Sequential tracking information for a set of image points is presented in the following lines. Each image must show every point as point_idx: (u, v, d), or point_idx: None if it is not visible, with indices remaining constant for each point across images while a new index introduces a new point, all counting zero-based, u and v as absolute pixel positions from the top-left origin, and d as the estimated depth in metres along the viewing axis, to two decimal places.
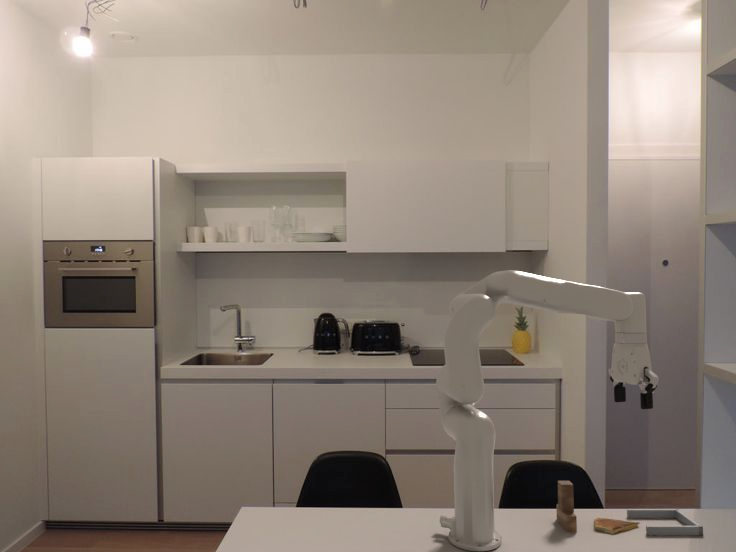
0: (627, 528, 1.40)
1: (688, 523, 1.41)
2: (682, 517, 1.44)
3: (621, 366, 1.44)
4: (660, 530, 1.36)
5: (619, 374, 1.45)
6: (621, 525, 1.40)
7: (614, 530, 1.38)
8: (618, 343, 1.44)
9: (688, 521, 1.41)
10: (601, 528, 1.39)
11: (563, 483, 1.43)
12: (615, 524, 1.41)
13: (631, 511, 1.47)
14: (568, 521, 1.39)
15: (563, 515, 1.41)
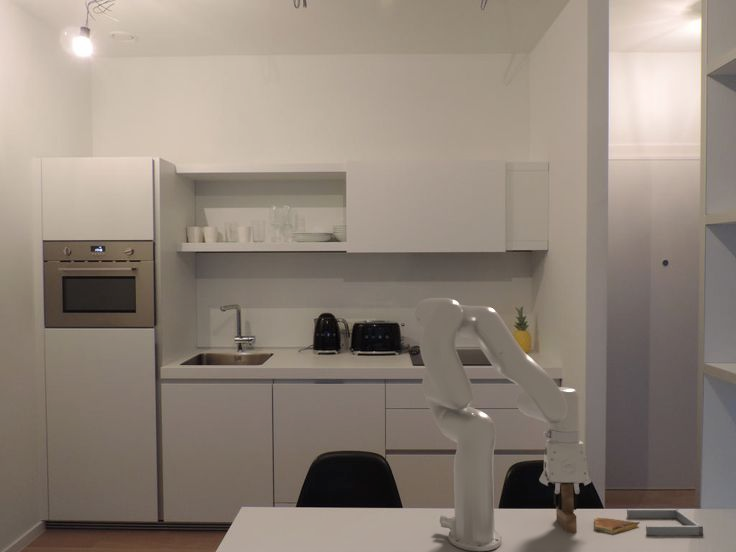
0: (627, 528, 1.40)
1: (688, 523, 1.41)
2: (682, 517, 1.44)
3: (566, 466, 1.41)
4: (660, 530, 1.36)
5: (563, 475, 1.41)
6: (621, 525, 1.40)
7: (614, 530, 1.38)
8: (568, 443, 1.40)
9: (688, 521, 1.41)
10: (601, 528, 1.39)
11: (563, 483, 1.43)
12: (614, 524, 1.41)
13: (631, 511, 1.47)
14: (568, 520, 1.39)
15: (563, 515, 1.41)
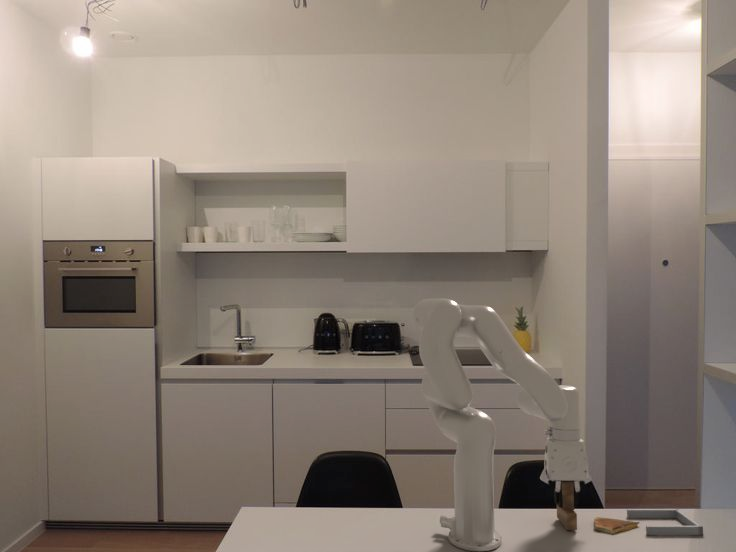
0: (627, 528, 1.40)
1: (688, 523, 1.41)
2: (682, 517, 1.44)
3: (567, 464, 1.41)
4: (660, 530, 1.36)
5: (564, 473, 1.41)
6: (621, 525, 1.40)
7: (614, 530, 1.38)
8: (568, 441, 1.40)
9: (688, 521, 1.41)
10: (601, 528, 1.39)
11: (563, 481, 1.43)
12: (614, 523, 1.41)
13: (631, 511, 1.47)
14: (569, 518, 1.39)
15: (563, 513, 1.41)
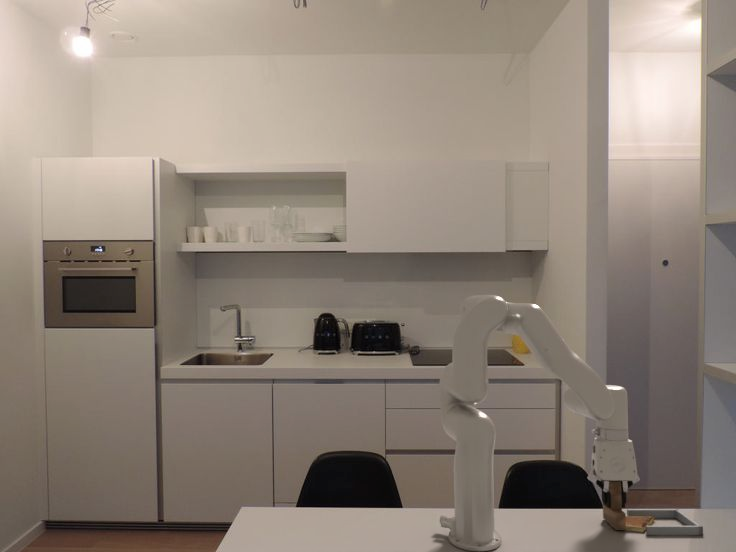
0: (650, 523, 1.42)
1: (688, 523, 1.41)
2: (682, 517, 1.44)
3: (615, 464, 1.40)
4: (660, 530, 1.36)
5: (612, 473, 1.40)
6: (645, 521, 1.42)
7: (644, 527, 1.39)
8: (618, 441, 1.40)
9: (688, 521, 1.41)
10: (631, 527, 1.39)
11: None
12: (639, 521, 1.42)
13: (631, 511, 1.47)
14: (617, 518, 1.39)
15: (611, 513, 1.41)
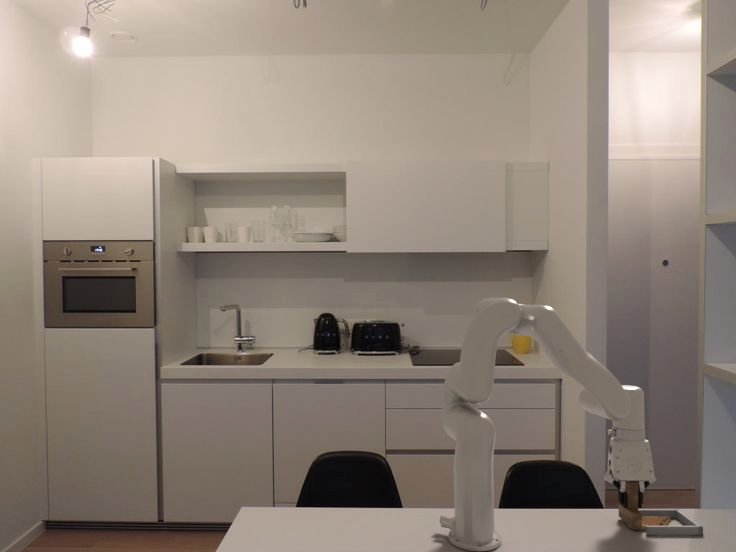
0: (666, 523, 1.42)
1: (688, 523, 1.41)
2: (682, 517, 1.44)
3: (632, 464, 1.40)
4: (660, 530, 1.36)
5: (629, 473, 1.40)
6: (662, 521, 1.42)
7: None
8: (634, 441, 1.40)
9: (688, 521, 1.41)
10: None
11: (628, 481, 1.42)
12: (655, 521, 1.42)
13: None
14: (634, 518, 1.39)
15: (628, 512, 1.41)
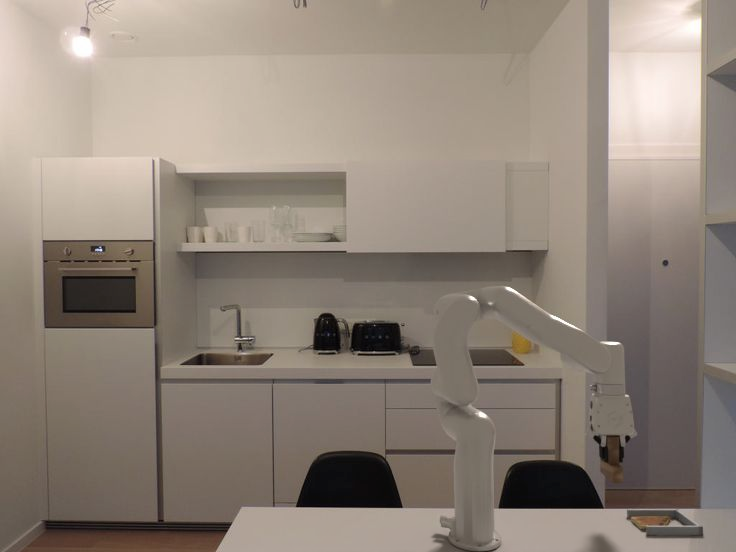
0: (666, 523, 1.42)
1: (688, 523, 1.41)
2: (682, 517, 1.44)
3: (612, 419, 1.41)
4: (660, 530, 1.36)
5: (610, 427, 1.41)
6: (662, 521, 1.42)
7: None
8: (615, 395, 1.40)
9: (688, 521, 1.41)
10: None
11: None
12: (655, 521, 1.42)
13: (631, 511, 1.47)
14: (615, 472, 1.39)
15: (609, 467, 1.42)
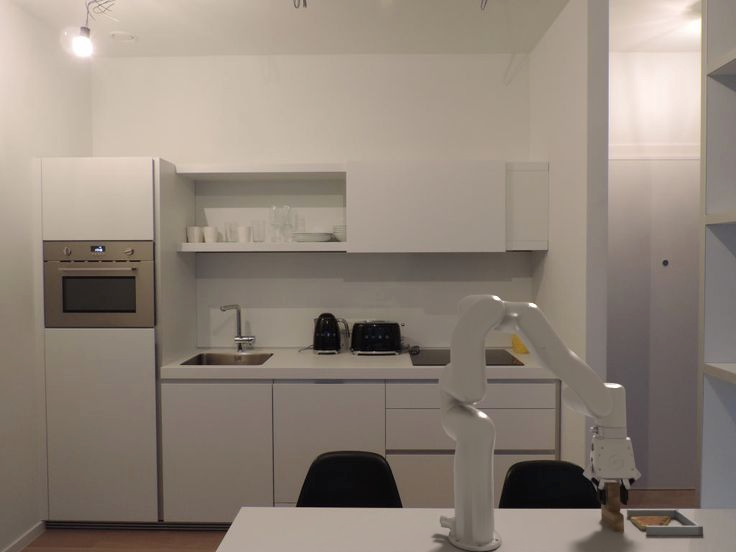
0: (666, 523, 1.42)
1: (688, 523, 1.41)
2: (682, 517, 1.44)
3: (614, 462, 1.40)
4: (660, 530, 1.36)
5: (611, 471, 1.40)
6: (662, 521, 1.42)
7: None
8: (616, 439, 1.40)
9: (688, 521, 1.41)
10: None
11: (609, 482, 1.43)
12: (655, 521, 1.42)
13: (631, 511, 1.47)
14: (616, 520, 1.39)
15: (610, 514, 1.41)
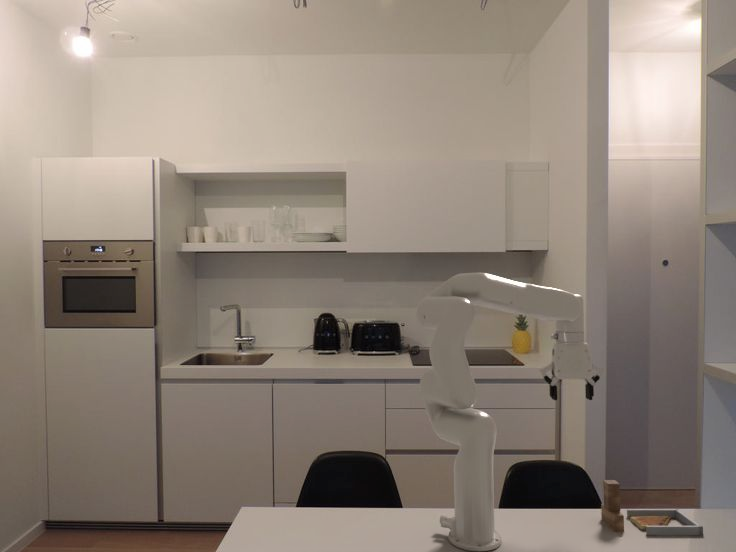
0: (666, 523, 1.42)
1: (688, 523, 1.41)
2: (682, 517, 1.44)
3: (572, 364, 1.53)
4: (660, 530, 1.36)
5: (569, 372, 1.52)
6: (661, 521, 1.42)
7: None
8: (574, 342, 1.52)
9: (688, 521, 1.41)
10: None
11: (609, 482, 1.43)
12: (655, 520, 1.42)
13: (631, 511, 1.47)
14: (616, 520, 1.39)
15: (610, 514, 1.41)
